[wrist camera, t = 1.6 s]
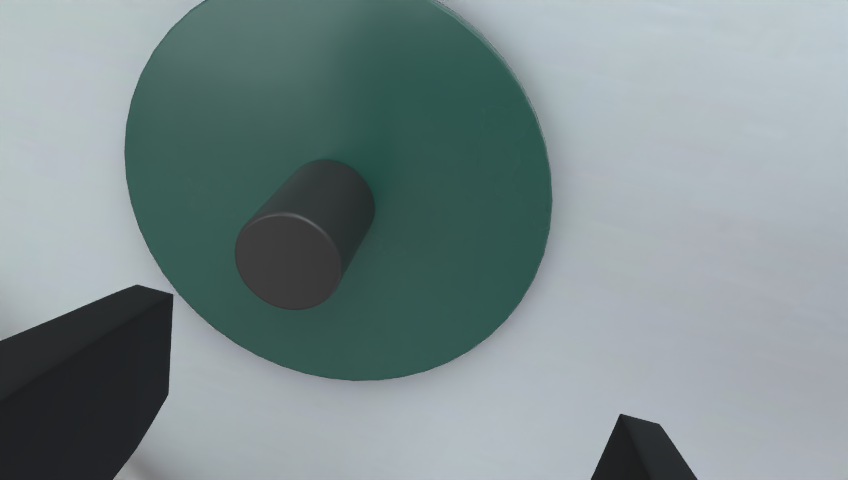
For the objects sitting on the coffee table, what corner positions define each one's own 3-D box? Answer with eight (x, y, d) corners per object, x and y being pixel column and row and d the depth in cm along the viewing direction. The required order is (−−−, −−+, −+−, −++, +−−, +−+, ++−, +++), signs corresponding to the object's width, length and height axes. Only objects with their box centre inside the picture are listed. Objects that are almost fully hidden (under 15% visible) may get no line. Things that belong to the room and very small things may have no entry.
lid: (306, 410, 22) (254, 522, 18) (65, 120, 19) (-65, 175, 15) (628, 258, 18) (655, 356, 14) (392, -141, 15) (338, -164, 11)
